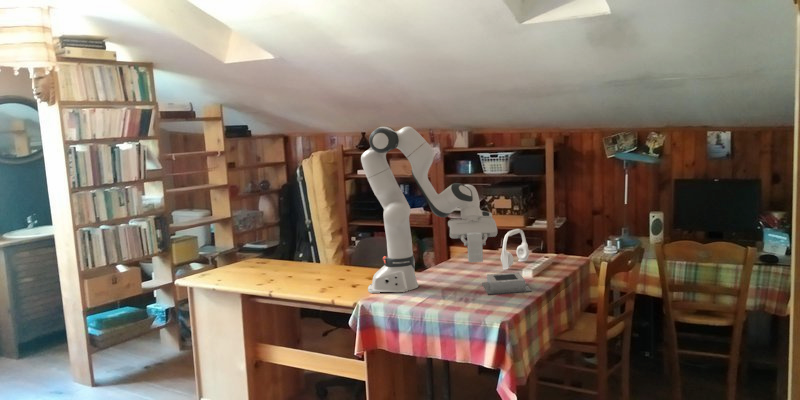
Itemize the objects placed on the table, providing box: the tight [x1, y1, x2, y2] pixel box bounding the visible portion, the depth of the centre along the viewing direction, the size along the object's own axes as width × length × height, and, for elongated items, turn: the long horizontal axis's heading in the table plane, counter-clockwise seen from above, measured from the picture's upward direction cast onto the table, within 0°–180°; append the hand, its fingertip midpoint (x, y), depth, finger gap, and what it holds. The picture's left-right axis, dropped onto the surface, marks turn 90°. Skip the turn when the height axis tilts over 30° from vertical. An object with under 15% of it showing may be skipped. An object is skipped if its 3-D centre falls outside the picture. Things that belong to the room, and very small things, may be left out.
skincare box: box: [466, 232, 484, 263], centre depth 272 cm, size 6×4×12 cm
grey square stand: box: [481, 271, 532, 296], centre depth 275 cm, size 18×18×5 cm
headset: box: [500, 228, 530, 271], centre depth 312 cm, size 20×7×18 cm, turn 140°
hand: (475, 244), depth 271 cm, fingers closed on skincare box, 6 cm apart
